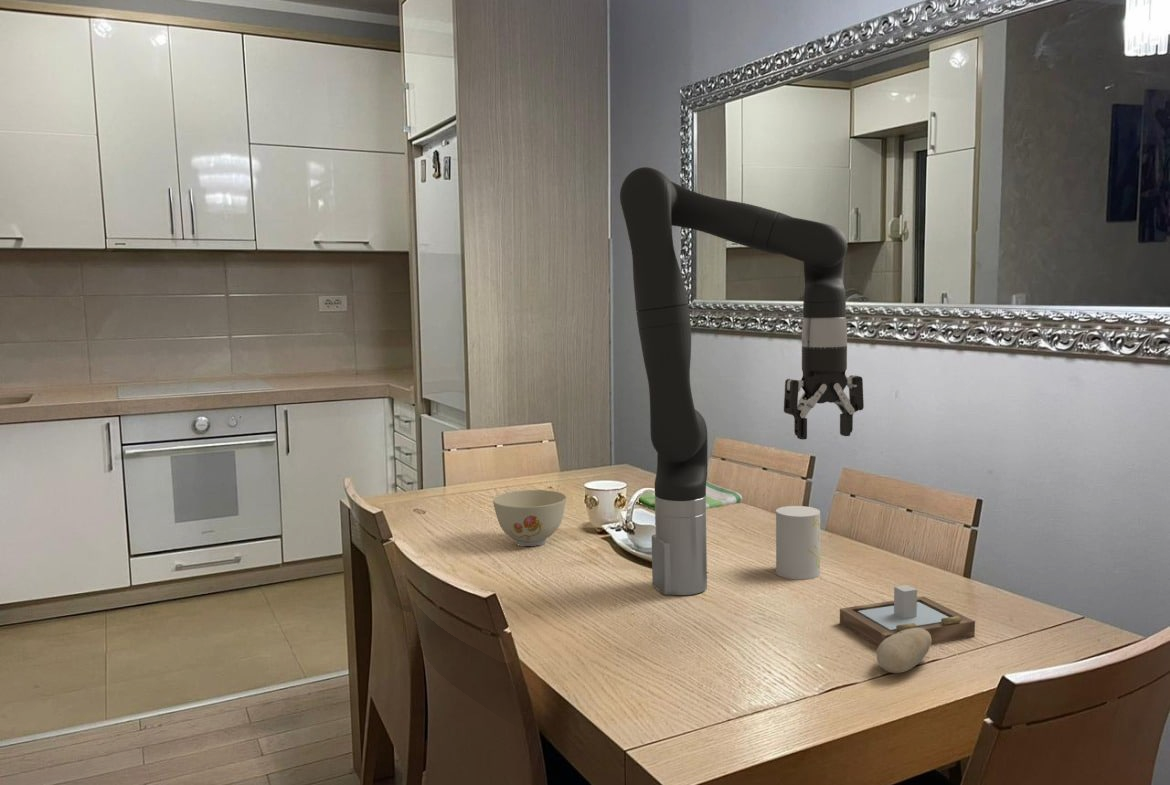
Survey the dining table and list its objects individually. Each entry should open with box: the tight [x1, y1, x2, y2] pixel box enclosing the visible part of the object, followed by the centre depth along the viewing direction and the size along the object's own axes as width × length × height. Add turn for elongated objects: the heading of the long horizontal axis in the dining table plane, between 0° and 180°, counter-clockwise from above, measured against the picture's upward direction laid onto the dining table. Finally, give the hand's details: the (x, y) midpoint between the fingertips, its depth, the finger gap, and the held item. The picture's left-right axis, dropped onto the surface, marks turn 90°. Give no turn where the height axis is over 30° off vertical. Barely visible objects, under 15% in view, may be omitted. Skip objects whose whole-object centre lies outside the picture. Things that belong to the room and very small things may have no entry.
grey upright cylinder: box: [775, 505, 821, 581], centre depth 168 cm, size 8×8×12 cm
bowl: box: [492, 489, 567, 547], centre depth 193 cm, size 16×16×10 cm
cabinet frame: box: [839, 595, 976, 648], centre depth 140 cm, size 16×12×3 cm
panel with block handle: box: [858, 584, 948, 632], centre depth 139 cm, size 12×8×6 cm
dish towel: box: [638, 480, 743, 511], centre depth 227 cm, size 17×23×4 cm
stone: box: [876, 628, 932, 674], centre depth 127 cm, size 6×6×12 cm
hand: (823, 437), depth 154 cm, fingers open, 8 cm apart
